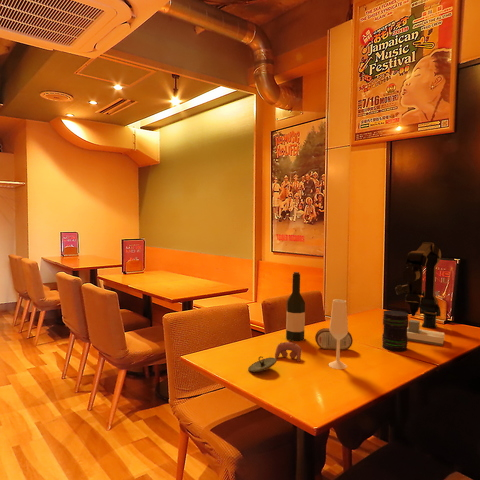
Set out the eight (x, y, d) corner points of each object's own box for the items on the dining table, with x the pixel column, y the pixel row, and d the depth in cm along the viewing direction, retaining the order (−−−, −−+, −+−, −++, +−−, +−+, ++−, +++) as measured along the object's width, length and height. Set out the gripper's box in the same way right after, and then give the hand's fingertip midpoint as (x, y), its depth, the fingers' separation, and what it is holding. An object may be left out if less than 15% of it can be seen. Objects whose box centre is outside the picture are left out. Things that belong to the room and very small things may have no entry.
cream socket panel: (387, 331, 184) (388, 324, 184) (444, 340, 171) (444, 332, 171) (384, 336, 176) (384, 329, 176) (442, 346, 164) (443, 338, 163)
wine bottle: (283, 340, 169) (284, 272, 167) (288, 334, 176) (289, 270, 175) (302, 342, 166) (303, 274, 164) (306, 337, 173) (307, 271, 172)
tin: (351, 348, 158) (352, 328, 158) (353, 351, 155) (353, 331, 155) (314, 347, 160) (315, 327, 159) (315, 349, 157) (316, 329, 156)
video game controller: (301, 363, 146) (302, 344, 148) (299, 361, 142) (301, 342, 144) (276, 359, 149) (278, 341, 151) (273, 358, 145) (275, 339, 147)
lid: (275, 377, 128) (276, 363, 128) (246, 375, 130) (246, 361, 129) (277, 365, 139) (277, 352, 138) (250, 363, 140) (250, 350, 140)
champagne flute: (344, 370, 135) (345, 303, 134) (325, 366, 138) (327, 301, 137) (349, 364, 141) (351, 300, 139) (331, 360, 144) (333, 298, 143)
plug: (409, 334, 176) (410, 319, 176) (419, 336, 174) (419, 320, 174) (408, 336, 173) (408, 321, 173) (417, 338, 171) (418, 322, 171)
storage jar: (410, 348, 160) (412, 313, 160) (402, 353, 153) (403, 317, 152) (387, 342, 167) (388, 309, 166) (378, 347, 160) (379, 312, 159)
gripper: (400, 276, 184) (399, 308, 185) (393, 280, 169) (391, 315, 169) (425, 278, 179) (424, 311, 179) (420, 283, 163) (419, 319, 164)
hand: (414, 314), depth 173 cm, fingers open, 9 cm apart
